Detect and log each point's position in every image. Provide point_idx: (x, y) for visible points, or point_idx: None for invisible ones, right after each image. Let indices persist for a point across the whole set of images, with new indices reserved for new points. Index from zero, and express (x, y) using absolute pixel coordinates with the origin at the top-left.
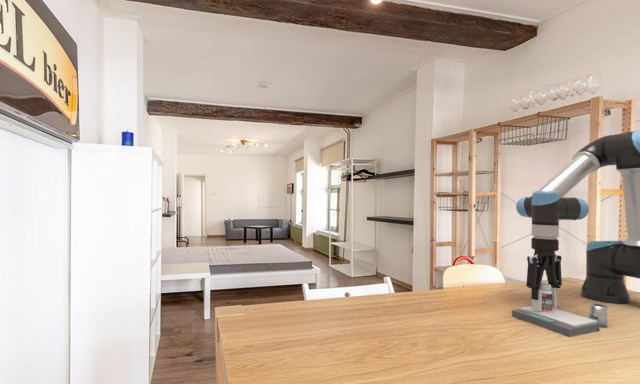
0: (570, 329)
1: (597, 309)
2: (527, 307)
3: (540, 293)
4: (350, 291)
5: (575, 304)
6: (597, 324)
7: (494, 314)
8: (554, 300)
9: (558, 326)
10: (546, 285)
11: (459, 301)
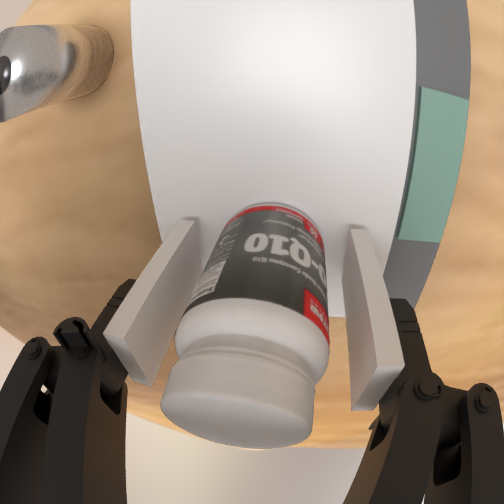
0: None
1: (37, 38)
2: None
3: (393, 336)
4: None
5: (17, 268)
6: None
7: (432, 327)
8: (173, 259)
9: (467, 50)
10: (258, 414)
11: (375, 411)
